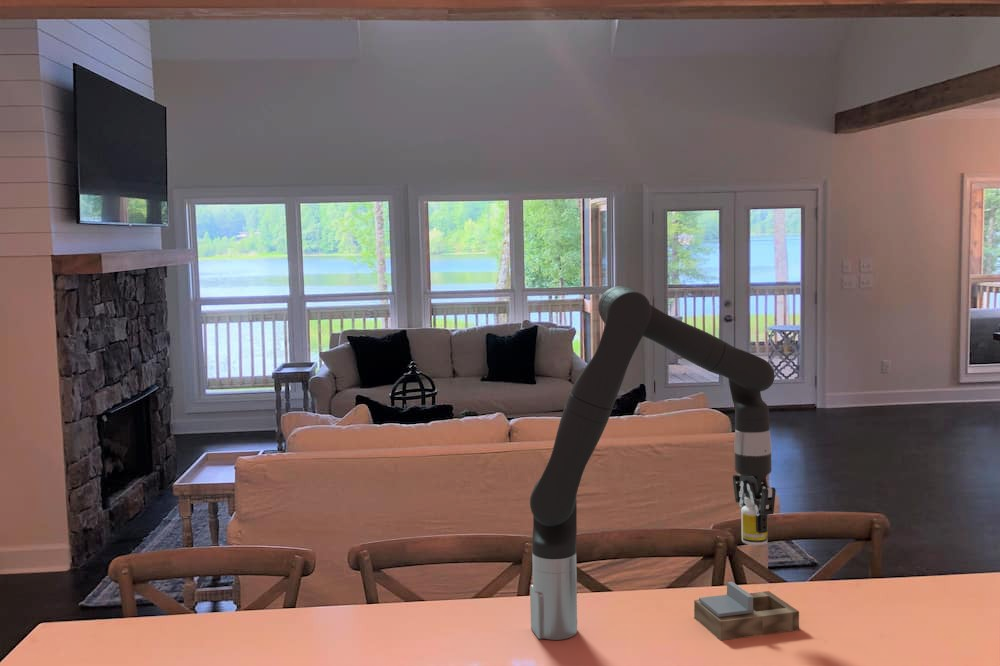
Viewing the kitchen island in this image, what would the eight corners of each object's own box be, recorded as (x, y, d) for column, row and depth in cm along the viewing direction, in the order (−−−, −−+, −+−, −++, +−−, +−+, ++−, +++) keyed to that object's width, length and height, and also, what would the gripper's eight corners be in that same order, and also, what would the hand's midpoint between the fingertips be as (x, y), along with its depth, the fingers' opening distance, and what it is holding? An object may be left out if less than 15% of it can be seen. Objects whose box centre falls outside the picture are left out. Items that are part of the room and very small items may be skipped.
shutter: (718, 617, 187) (718, 600, 187) (699, 601, 196) (699, 585, 196) (753, 612, 189) (754, 596, 189) (732, 597, 198) (732, 581, 198)
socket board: (720, 640, 186) (720, 621, 186) (694, 617, 198) (694, 600, 198) (798, 629, 191) (799, 611, 190) (768, 608, 202) (768, 591, 202)
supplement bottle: (771, 545, 192) (770, 500, 191) (745, 546, 192) (744, 500, 191) (764, 537, 197) (763, 493, 196) (738, 538, 197) (737, 494, 196)
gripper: (787, 455, 187) (788, 536, 188) (751, 442, 200) (752, 517, 202) (754, 459, 185) (755, 540, 186) (720, 445, 199) (722, 521, 200)
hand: (754, 528), depth 194 cm, fingers closed on supplement bottle, 5 cm apart
